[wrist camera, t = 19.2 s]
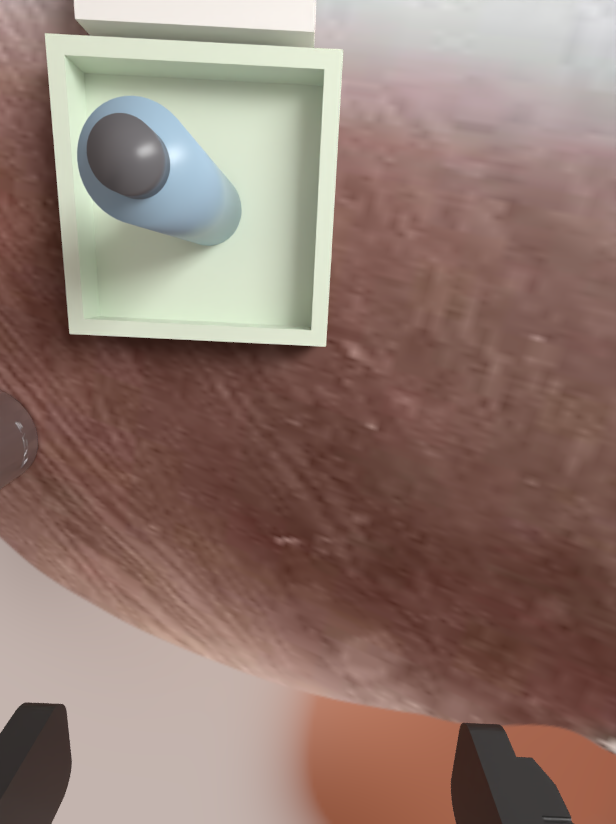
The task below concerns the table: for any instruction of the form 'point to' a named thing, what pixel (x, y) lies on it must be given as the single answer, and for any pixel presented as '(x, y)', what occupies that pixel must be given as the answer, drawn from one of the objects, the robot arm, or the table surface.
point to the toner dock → (202, 20)
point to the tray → (238, 160)
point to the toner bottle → (155, 173)
